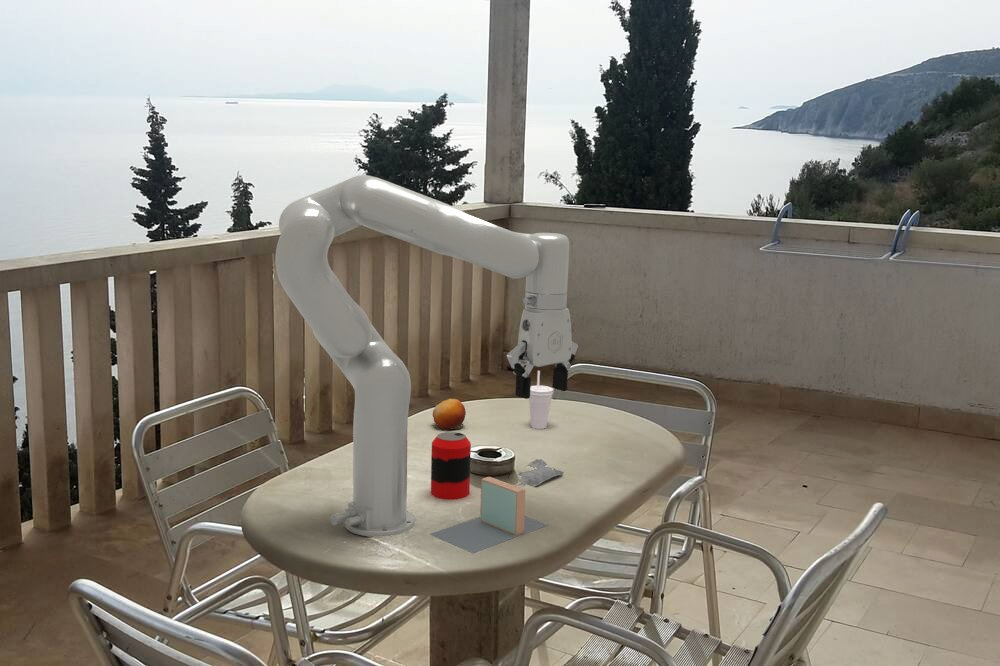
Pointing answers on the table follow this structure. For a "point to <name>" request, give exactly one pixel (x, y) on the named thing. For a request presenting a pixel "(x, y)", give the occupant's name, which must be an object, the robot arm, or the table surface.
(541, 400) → the smoothie
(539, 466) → the stone slab
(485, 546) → the mat
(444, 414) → the fruit
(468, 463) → the soda can
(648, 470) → the table surface
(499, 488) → the tile
